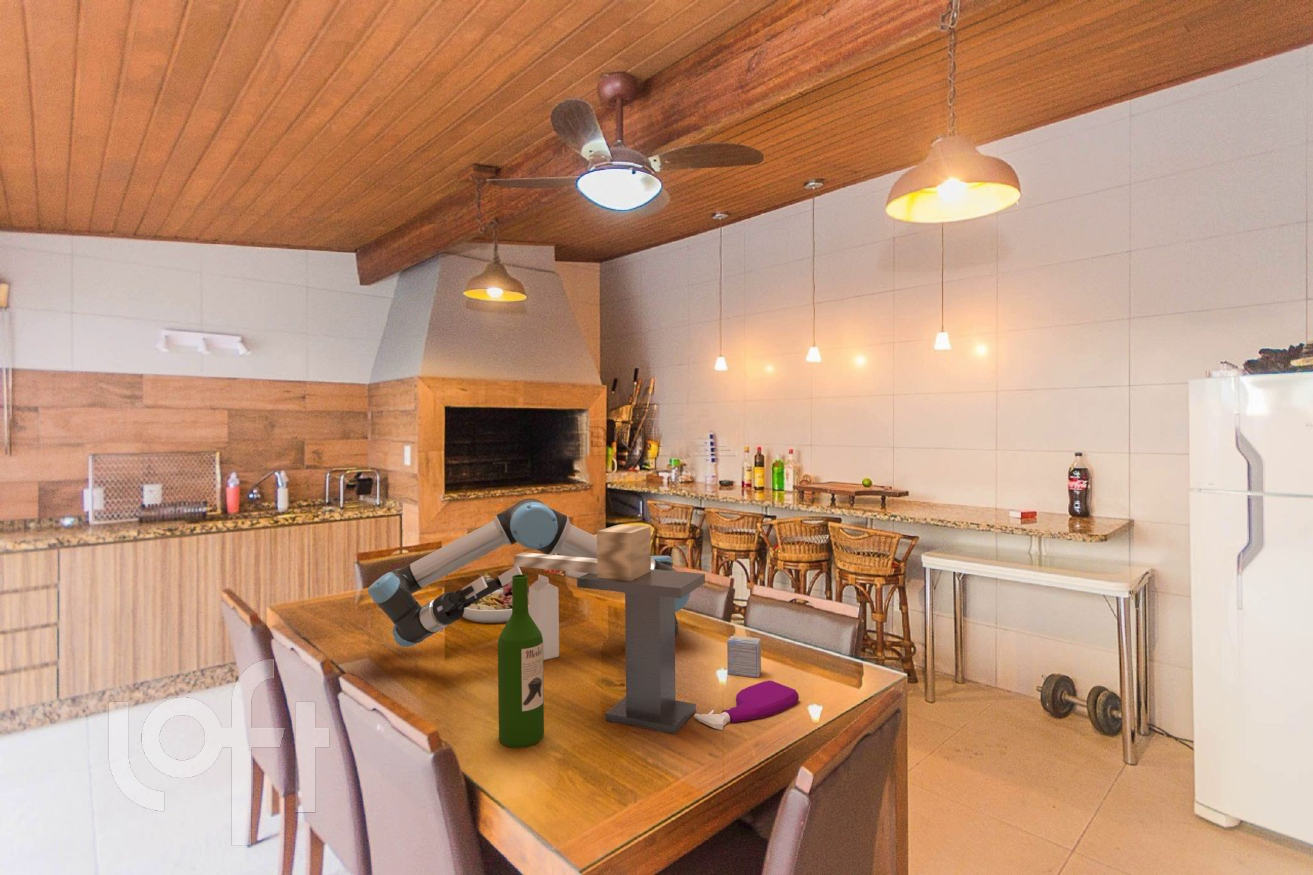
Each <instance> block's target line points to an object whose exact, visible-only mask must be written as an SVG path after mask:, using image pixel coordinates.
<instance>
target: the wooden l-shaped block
mask: <svg viewBox="0 0 1313 875" xmlns="http://www.w3.org/2000/svg"><path fill="white" fill-rule="evenodd" d="M651 533H652V532H651V526H650V525H649V526H648V525H647V526H646V525H633V524H632V525H631V524H616V525H612V526H610V527H606V528H602V529H600V530H597V531H596V537H597V559H596V558H584V557H573V556H562V555H560V554H551V555H549V554H544V553H538V552H537V553H533V552H525V551H524V552H521V553H518V554H515V555H513V567H515V566H518V567H519V568H520V567H521V568H532V569H540V570H541V569H542V570H551V571H560V572H561V571H562V572H571V573H572V572H573V573H584V574H588V573H592V574H597V578H607V579H617V580H627V581H632V580H634V579H636V578H638V577H640V576H642V575H644V574H646V573H648V572H650V571H651V556H652V554H651V551H652V550H651V549H652V547H651V546H652V545H651V543H652V542H651V541H652V538H651V537H652V536H651V535H652V534H651Z"/></svg>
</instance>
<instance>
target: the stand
mask: <svg viewBox="0 0 1313 875" xmlns="http://www.w3.org/2000/svg"><path fill="white" fill-rule="evenodd" d="M704 584H706V573H701V572H687V571H679V572H678V570H677V571H667V570H656V569H651V571H650V572H648V573H646V574H644V575H642V576H640V577H638V578H636V579H634V580H632V581H627V580H617V579H607V578H597V574H592V573H585V574H584V575H581V576H579V577H577V578H576V587H577V588H580V589H587V590H588V589H590V590H600V591H608V592H619V593H624V609H625V610H624V611H625V615H624V616H625V617H624V618H625V621H624V622H625V624H624V625H625V627H624V628H625V696H624V697H623V698H622V699H621V700H620V701H618V702H617V703H615V705H613V706H612V707H611V708H610V709H608V710H607V711H606V712H605V715H604V720H605V721H607V722H611V723H612V722H613V723H617V724H621V725H626V726H632V727H636V728H642V729H647V730H651V731H657V732H662V733H666V734H672V735H676V734H677V733H678V731H679V730H680V729H681V728H682V727H683V726H684V725H685V723H686V722H687V721H688V720H689V719H691V717H692V716H693V715H694V713H696V712H697V705H696V703H695V702H694V703H693V702H687V701H682V700H677V699H676V635H675V615H676V612H675V598H682V597H684V596H685V595H687V594H689V593H690V594H691V593H692V592H694V591H695V590H696V589H698V588H699V587H701V586H702V585H704Z"/></svg>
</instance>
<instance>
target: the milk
mask: <svg viewBox="0 0 1313 875" xmlns="http://www.w3.org/2000/svg"><path fill="white" fill-rule="evenodd" d="M537 577H538V578H537V580H535V581H534V582H533V583H531V585H530V586H528V587H529V615H530V617H531V618H532V620H533V621H534V623H535V624H536V626H537V627H538V629H539V630H540V632H541V634H542V638H543V661H546V660H549V659H555V658H558V657H560V632H559V631H560V626H559V625H560V624H559V622H560V621H559V620H560V619H559V618H560V617H559V616H560V615H559V614H560V613H559V612H560V610H559V609H560V608H559V606H560V604H559V587H558V586H555V585H554V584H552V583H550V579H549V577H548V576H546V575H542V574H540V573H538V576H537Z"/></svg>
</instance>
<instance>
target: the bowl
mask: <svg viewBox="0 0 1313 875" xmlns="http://www.w3.org/2000/svg"><path fill="white" fill-rule="evenodd" d="M527 587H528V612H529V587H530V586H529V585H527ZM511 615H512V581H511V582H510V583H508V585H507V586H504V587H502V588H500V589H498V590H496V591H494V592H493V593H491V594H489V595H487V596H485V597H483V598H481V599H480V600H478V601H477V602H474V603H472V604H471V605H470V606H468V607H466V608H464V614H463V616H462V618H464V619H466V620H469V621H471V622H476V623H483V624H484V623H486V624H499V623H501V624H503V623H507V622H508V620H509V619H510V617H511Z"/></svg>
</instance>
